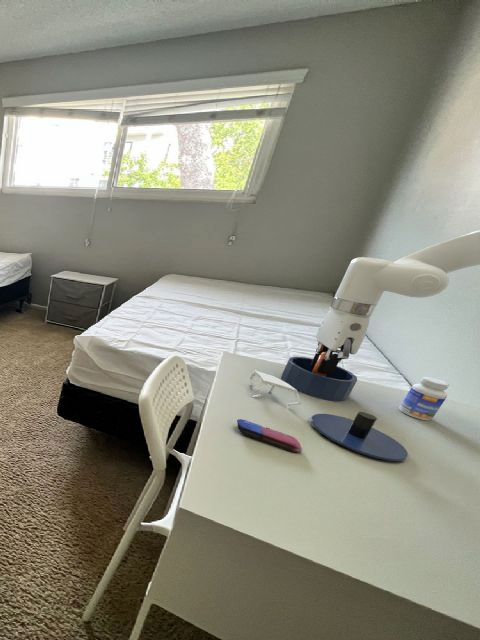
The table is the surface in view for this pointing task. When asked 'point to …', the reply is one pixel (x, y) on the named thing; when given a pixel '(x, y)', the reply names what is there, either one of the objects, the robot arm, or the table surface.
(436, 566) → the table surface
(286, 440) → the eraser
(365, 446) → the pot lid
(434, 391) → the pill bottle
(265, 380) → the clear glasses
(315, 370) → the carrot
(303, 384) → the pot
